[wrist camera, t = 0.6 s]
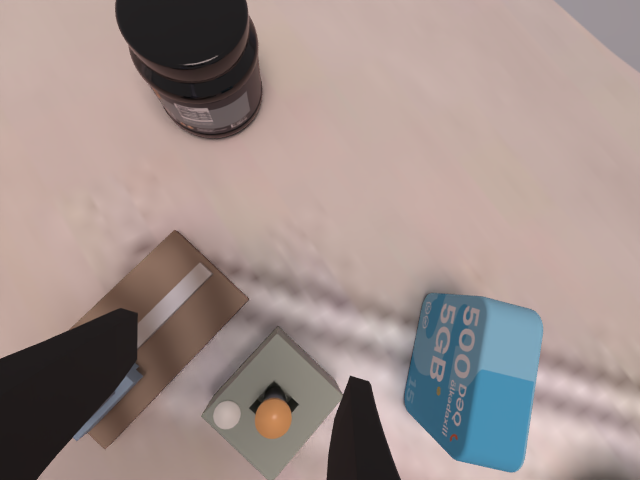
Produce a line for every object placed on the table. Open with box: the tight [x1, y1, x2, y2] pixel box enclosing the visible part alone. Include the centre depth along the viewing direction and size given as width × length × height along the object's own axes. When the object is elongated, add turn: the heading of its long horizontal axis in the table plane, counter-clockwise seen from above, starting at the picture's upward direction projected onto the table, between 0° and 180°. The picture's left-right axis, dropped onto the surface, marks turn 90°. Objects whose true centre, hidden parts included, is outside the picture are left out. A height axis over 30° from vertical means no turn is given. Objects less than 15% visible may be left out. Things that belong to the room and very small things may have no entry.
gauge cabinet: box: [201, 327, 343, 480], centre depth 31 cm, size 9×8×5 cm
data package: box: [405, 293, 543, 472], centre depth 30 cm, size 12×4×12 cm, turn 166°
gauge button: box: [255, 387, 292, 439], centre depth 28 cm, size 3×3×5 cm
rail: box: [70, 230, 249, 449], centre depth 32 cm, size 18×10×2 cm, turn 137°
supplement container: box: [115, 0, 262, 138], centre depth 31 cm, size 10×10×12 cm
